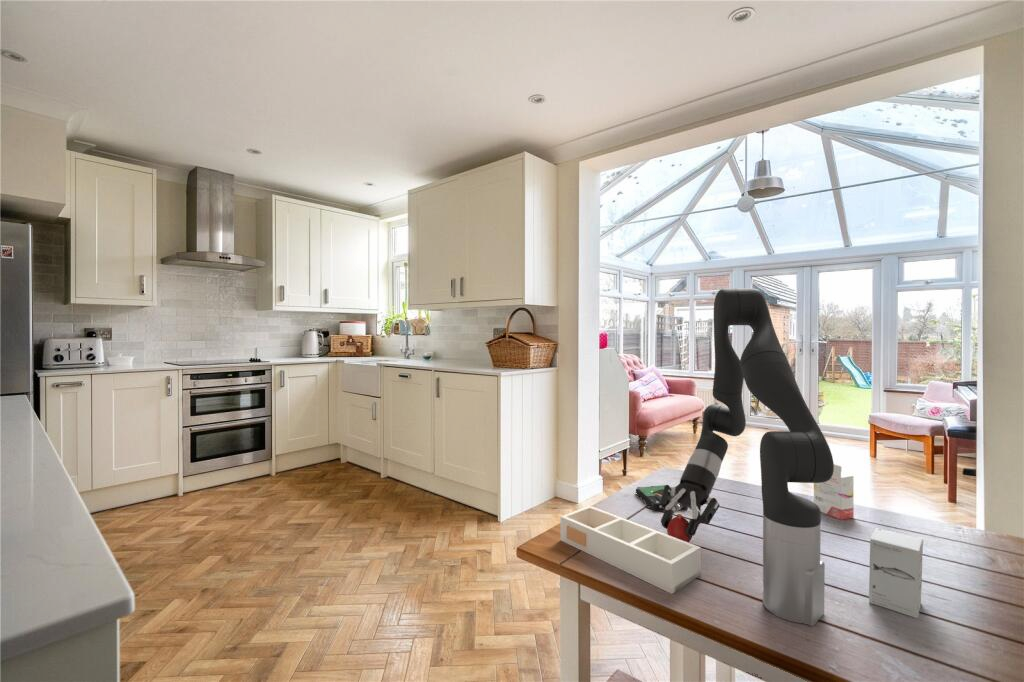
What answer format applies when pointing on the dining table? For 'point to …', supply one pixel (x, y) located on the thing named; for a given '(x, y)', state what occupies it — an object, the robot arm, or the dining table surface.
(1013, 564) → the dining table surface
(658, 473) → the dining table surface
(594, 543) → the compartment tray
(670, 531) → the onion
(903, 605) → the supplement box
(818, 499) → the ink cartridge box
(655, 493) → the disk drive
